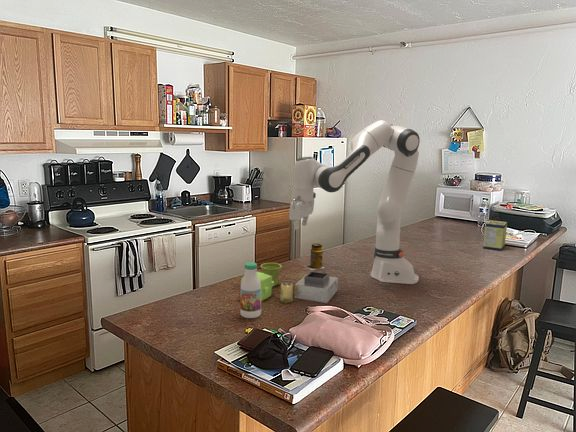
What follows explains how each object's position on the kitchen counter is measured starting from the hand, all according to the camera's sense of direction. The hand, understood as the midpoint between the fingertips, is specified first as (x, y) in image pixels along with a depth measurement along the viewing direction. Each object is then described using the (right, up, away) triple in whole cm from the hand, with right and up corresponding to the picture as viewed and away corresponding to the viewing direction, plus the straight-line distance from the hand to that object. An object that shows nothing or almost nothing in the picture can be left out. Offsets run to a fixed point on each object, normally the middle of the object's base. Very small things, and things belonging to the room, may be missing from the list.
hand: (300, 227), depth 194 cm
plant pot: (-13, -26, +11) cm, 31 cm away
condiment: (+8, -22, +38) cm, 45 cm away
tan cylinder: (-6, -30, -8) cm, 32 cm away
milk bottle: (-19, -33, -23) cm, 44 cm away
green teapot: (-18, -30, -7) cm, 35 cm away
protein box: (+122, -15, +86) cm, 150 cm away
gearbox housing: (+7, -29, 0) cm, 29 cm away
